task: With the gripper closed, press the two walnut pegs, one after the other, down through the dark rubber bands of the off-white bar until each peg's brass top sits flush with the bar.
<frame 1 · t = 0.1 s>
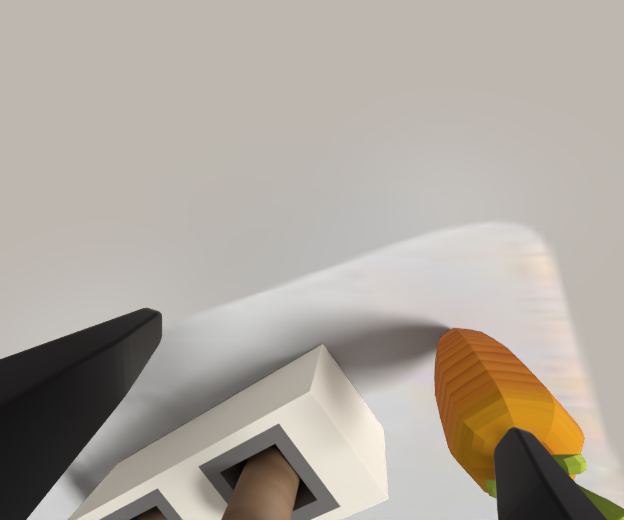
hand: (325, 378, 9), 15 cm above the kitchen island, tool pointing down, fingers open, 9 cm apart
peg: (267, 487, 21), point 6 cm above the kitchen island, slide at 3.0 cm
carrot: (451, 333, 24), on the kitchen island
band bar: (239, 447, 28), on the kitchen island
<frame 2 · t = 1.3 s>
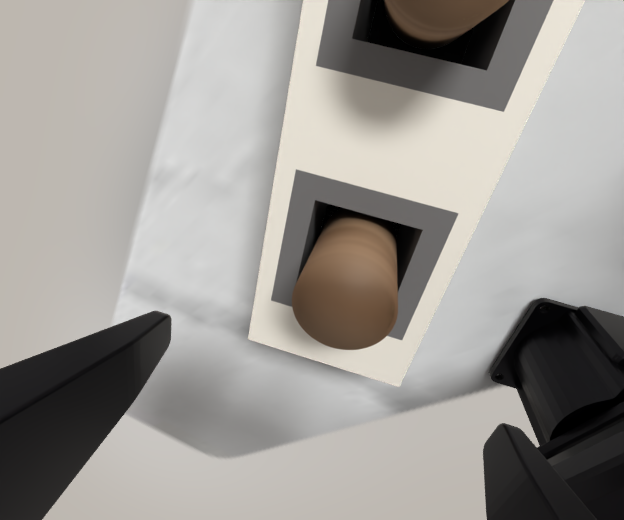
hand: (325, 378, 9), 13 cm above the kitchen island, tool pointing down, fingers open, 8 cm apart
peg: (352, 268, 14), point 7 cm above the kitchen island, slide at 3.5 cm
band bar: (391, 125, 18), on the kitchen island
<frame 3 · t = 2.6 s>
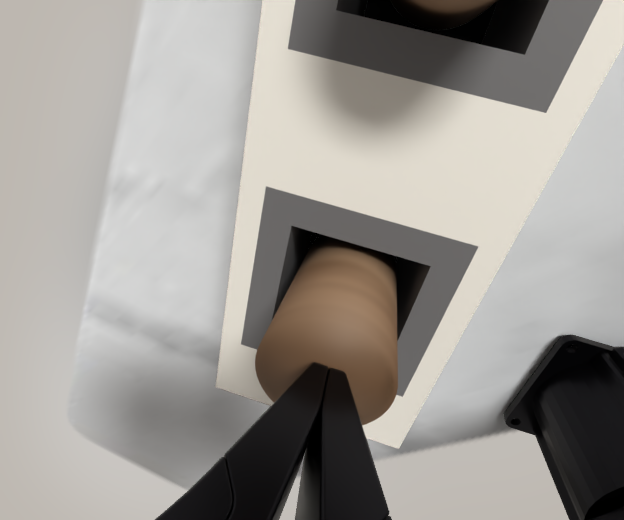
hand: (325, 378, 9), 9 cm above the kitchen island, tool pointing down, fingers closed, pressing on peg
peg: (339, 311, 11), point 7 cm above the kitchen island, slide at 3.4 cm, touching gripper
band bar: (390, 129, 15), on the kitchen island
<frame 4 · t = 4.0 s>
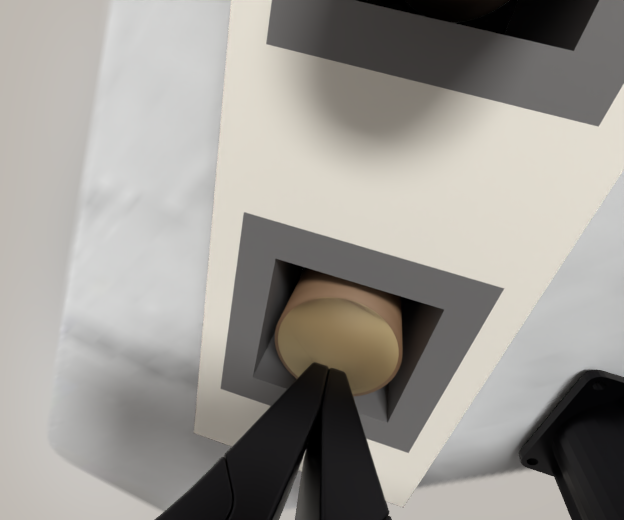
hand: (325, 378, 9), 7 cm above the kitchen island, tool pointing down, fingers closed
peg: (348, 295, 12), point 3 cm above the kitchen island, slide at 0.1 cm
band bar: (394, 139, 13), on the kitchen island
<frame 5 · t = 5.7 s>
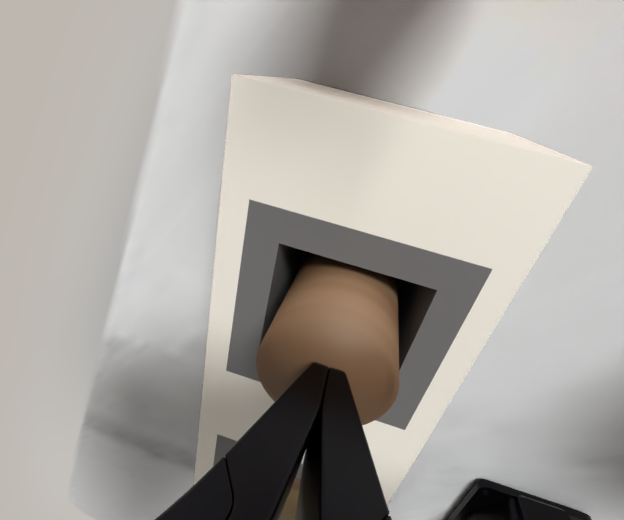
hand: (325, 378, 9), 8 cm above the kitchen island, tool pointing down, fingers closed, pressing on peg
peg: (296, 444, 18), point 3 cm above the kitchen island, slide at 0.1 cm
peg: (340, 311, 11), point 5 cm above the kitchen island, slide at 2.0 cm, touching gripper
band bar: (329, 331, 18), on the kitchen island
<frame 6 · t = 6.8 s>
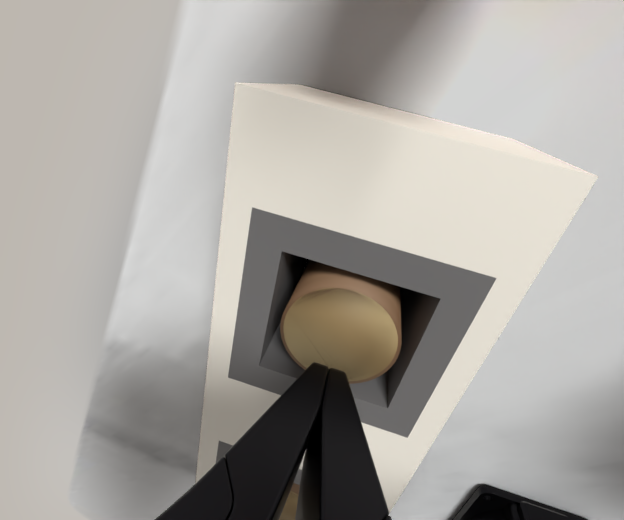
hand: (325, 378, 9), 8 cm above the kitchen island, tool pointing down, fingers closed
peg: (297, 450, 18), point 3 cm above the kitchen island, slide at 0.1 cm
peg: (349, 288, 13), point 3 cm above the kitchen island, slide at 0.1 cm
band bar: (331, 336, 18), on the kitchen island
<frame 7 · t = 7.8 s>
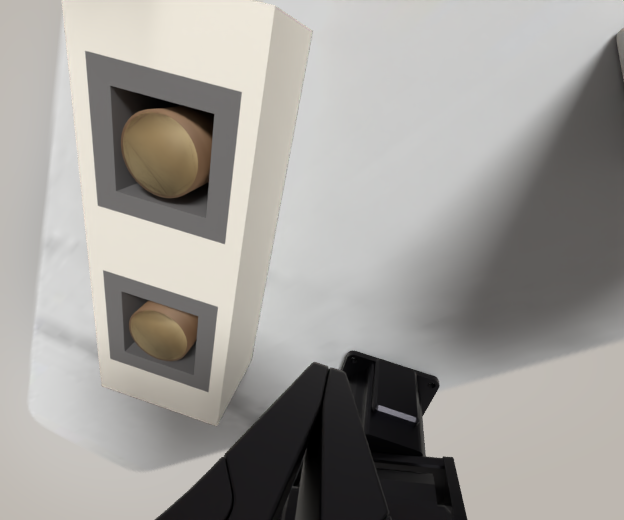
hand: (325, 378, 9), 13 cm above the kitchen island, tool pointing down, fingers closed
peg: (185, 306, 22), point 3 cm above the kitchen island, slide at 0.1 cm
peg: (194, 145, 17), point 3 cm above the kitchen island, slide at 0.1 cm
band bar: (215, 217, 22), on the kitchen island
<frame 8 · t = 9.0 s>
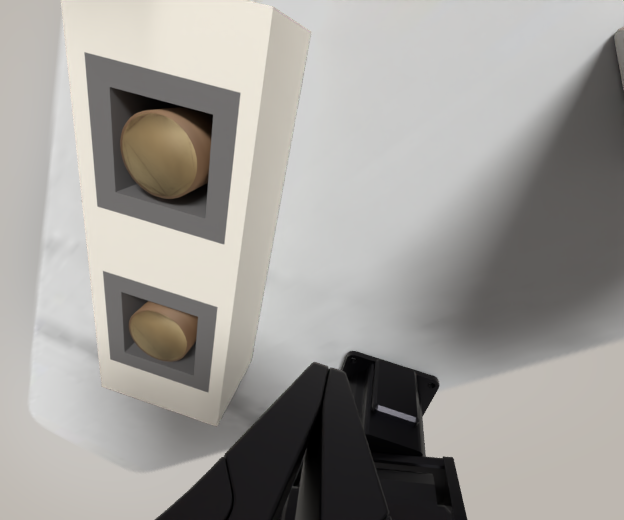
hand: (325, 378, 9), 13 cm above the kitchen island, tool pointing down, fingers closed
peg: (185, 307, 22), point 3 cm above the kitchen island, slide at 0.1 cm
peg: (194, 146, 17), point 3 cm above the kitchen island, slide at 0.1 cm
band bar: (214, 218, 22), on the kitchen island
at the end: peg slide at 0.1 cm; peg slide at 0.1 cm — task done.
